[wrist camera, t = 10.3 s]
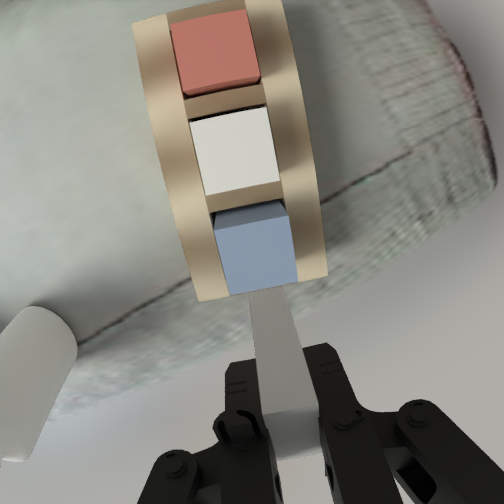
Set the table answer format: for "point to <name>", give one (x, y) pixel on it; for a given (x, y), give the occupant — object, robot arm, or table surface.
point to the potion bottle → (31, 377)
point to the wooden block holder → (187, 110)
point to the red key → (215, 53)
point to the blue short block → (255, 246)
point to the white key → (235, 150)
